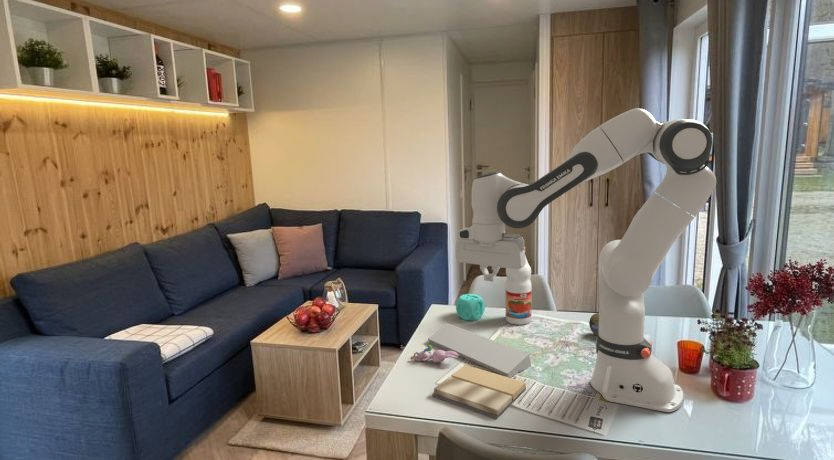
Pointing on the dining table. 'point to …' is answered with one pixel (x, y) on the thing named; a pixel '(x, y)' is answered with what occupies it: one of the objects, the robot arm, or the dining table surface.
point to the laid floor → (487, 386)
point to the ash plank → (473, 395)
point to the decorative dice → (470, 307)
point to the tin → (594, 323)
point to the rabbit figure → (434, 355)
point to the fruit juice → (518, 295)
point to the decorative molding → (481, 350)
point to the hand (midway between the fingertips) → (490, 280)
